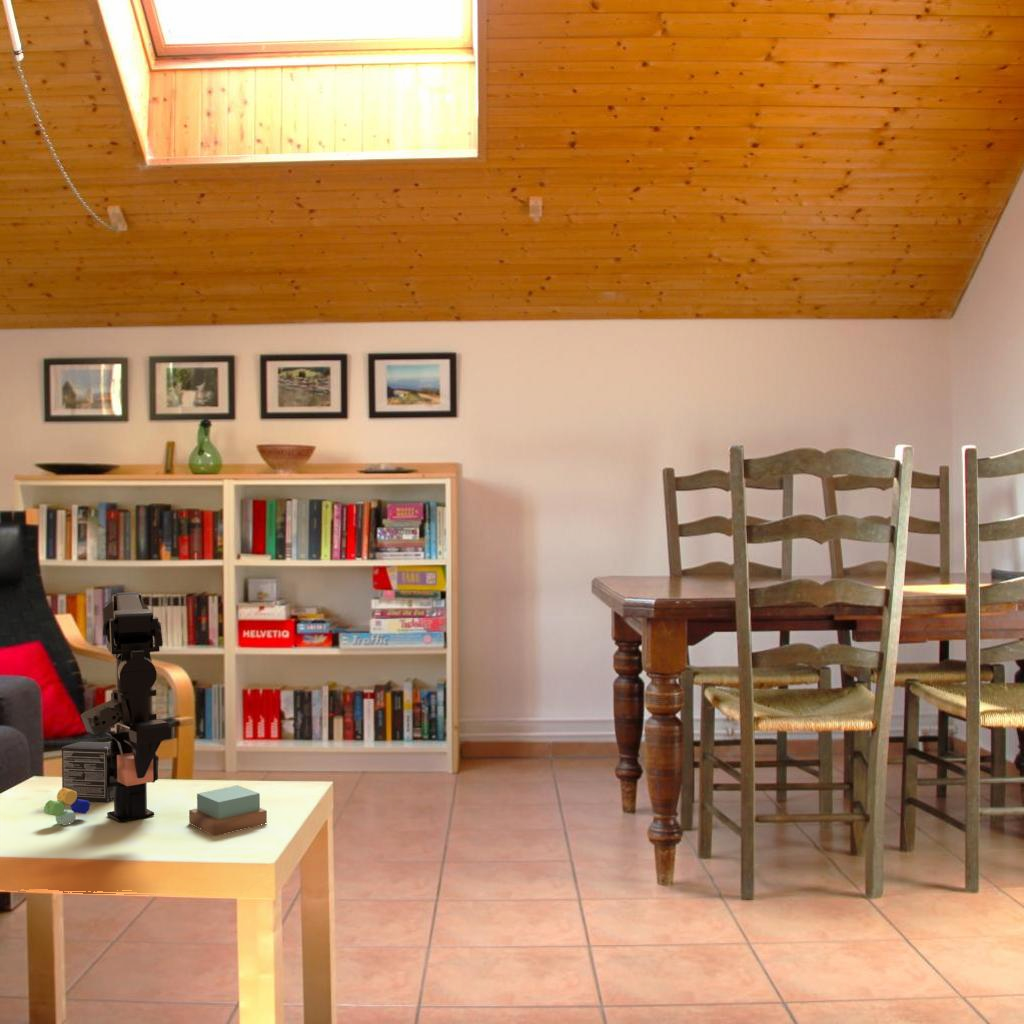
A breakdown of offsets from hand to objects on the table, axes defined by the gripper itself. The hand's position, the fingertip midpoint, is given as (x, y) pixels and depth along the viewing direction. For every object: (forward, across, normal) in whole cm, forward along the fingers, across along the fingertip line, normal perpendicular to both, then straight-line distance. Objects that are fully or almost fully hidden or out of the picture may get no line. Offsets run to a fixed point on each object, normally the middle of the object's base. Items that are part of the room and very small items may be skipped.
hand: (135, 775), depth 179 cm
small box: (+11, -32, +4) cm, 35 cm away
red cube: (+1, 0, 0) cm, 1 cm away
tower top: (+9, +2, +16) cm, 18 cm away
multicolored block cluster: (+11, -18, -6) cm, 22 cm away
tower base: (+12, +2, +16) cm, 20 cm away
